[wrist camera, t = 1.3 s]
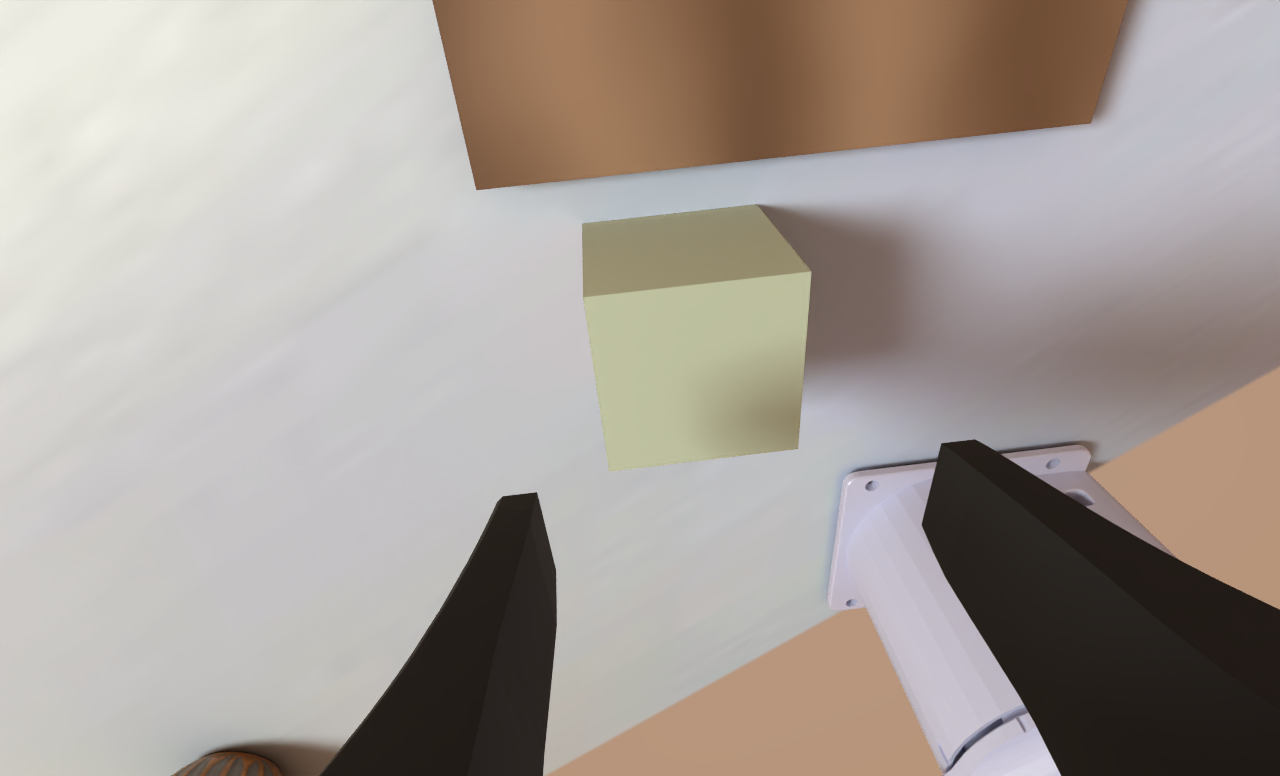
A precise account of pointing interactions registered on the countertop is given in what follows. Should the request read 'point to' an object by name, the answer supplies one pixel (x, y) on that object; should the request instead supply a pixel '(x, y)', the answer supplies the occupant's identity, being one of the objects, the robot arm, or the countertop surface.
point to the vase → (230, 766)
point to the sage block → (695, 335)
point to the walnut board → (757, 78)
